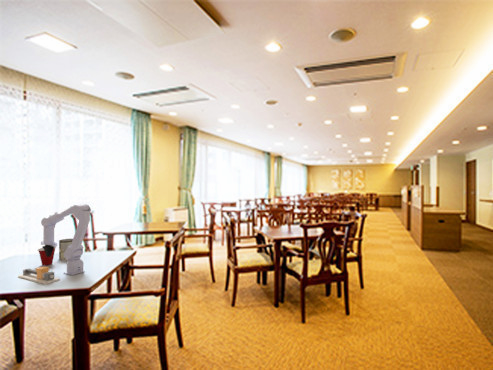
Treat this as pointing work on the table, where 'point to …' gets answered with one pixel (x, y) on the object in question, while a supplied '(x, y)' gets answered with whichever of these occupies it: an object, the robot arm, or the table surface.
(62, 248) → the coffee can
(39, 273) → the marker sleeve
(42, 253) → the plastic cup
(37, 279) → the cord board
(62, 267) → the table surface
